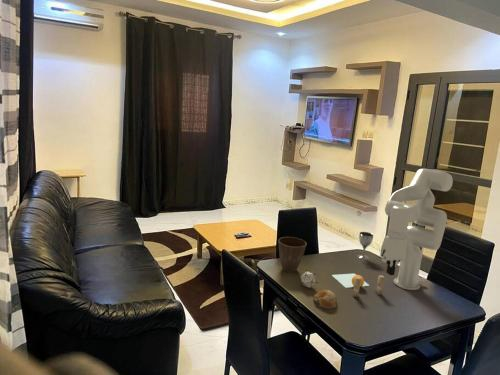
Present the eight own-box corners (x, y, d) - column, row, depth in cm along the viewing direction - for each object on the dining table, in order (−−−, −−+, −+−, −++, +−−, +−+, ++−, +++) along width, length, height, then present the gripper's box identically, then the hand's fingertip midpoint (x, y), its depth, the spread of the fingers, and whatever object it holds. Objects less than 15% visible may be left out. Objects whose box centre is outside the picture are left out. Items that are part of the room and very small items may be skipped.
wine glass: (361, 253, 231) (364, 231, 227) (372, 258, 225) (376, 234, 222) (353, 256, 226) (357, 233, 222) (364, 261, 220) (368, 237, 216)
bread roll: (331, 317, 163) (341, 304, 160) (311, 305, 163) (320, 291, 161) (331, 306, 172) (340, 293, 170) (312, 294, 173) (321, 281, 171)
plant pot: (286, 261, 210) (289, 234, 207) (308, 270, 201) (311, 242, 197) (270, 268, 199) (272, 240, 195) (293, 278, 189) (296, 249, 186)
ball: (365, 288, 185) (358, 281, 190) (367, 278, 182) (360, 271, 188) (355, 290, 183) (348, 283, 188) (357, 280, 180) (350, 273, 186)
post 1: (356, 294, 178) (358, 277, 176) (359, 297, 175) (361, 279, 173) (351, 294, 177) (354, 277, 175) (354, 297, 175) (357, 279, 173)
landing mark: (354, 273, 201) (354, 273, 201) (369, 285, 188) (369, 285, 188) (331, 275, 196) (331, 275, 196) (345, 287, 184) (345, 287, 183)
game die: (305, 295, 180) (300, 284, 174) (299, 282, 187) (294, 271, 181) (322, 288, 180) (317, 276, 174) (315, 275, 187) (310, 263, 181)
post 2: (379, 292, 182) (382, 275, 180) (382, 294, 179) (385, 277, 177) (374, 292, 181) (377, 275, 179) (378, 295, 179) (380, 278, 177)
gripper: (405, 230, 164) (398, 269, 168) (376, 231, 160) (370, 271, 164) (417, 236, 157) (410, 276, 161) (387, 238, 153) (381, 278, 157)
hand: (390, 273), depth 163 cm, fingers closed
